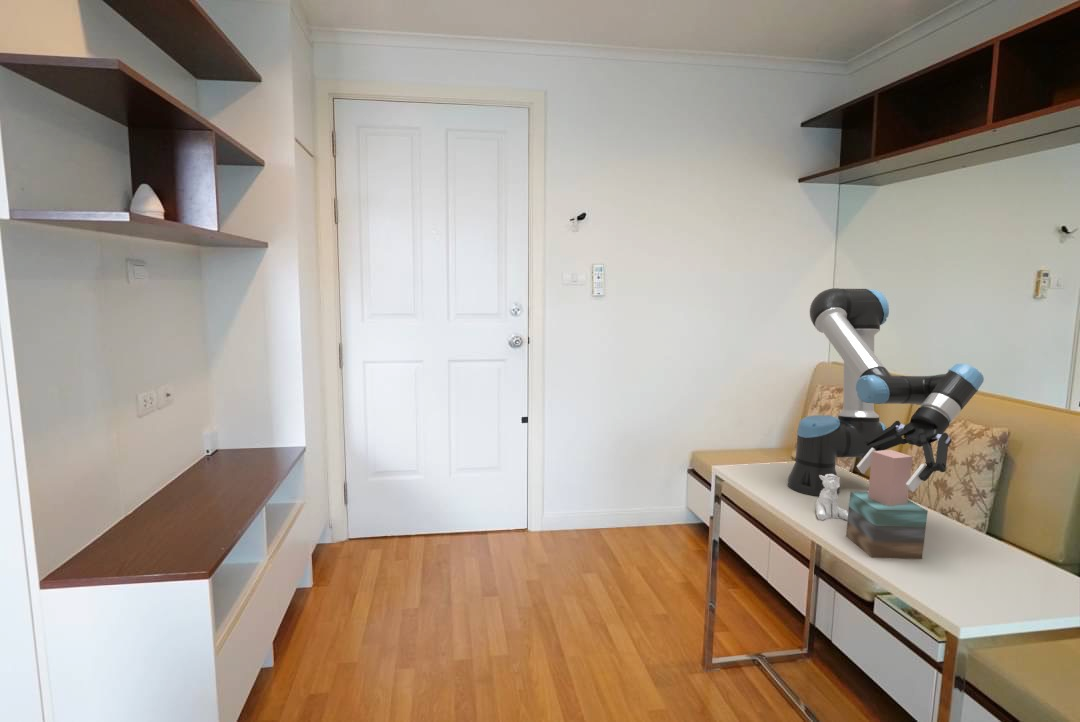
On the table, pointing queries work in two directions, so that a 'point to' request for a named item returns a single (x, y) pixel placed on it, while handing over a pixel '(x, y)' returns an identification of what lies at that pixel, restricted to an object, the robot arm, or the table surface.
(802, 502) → the table surface
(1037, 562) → the table surface
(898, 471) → the rose brick
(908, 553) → the teal topped wooden cube
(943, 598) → the table surface
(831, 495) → the sitting furry creature
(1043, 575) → the table surface
